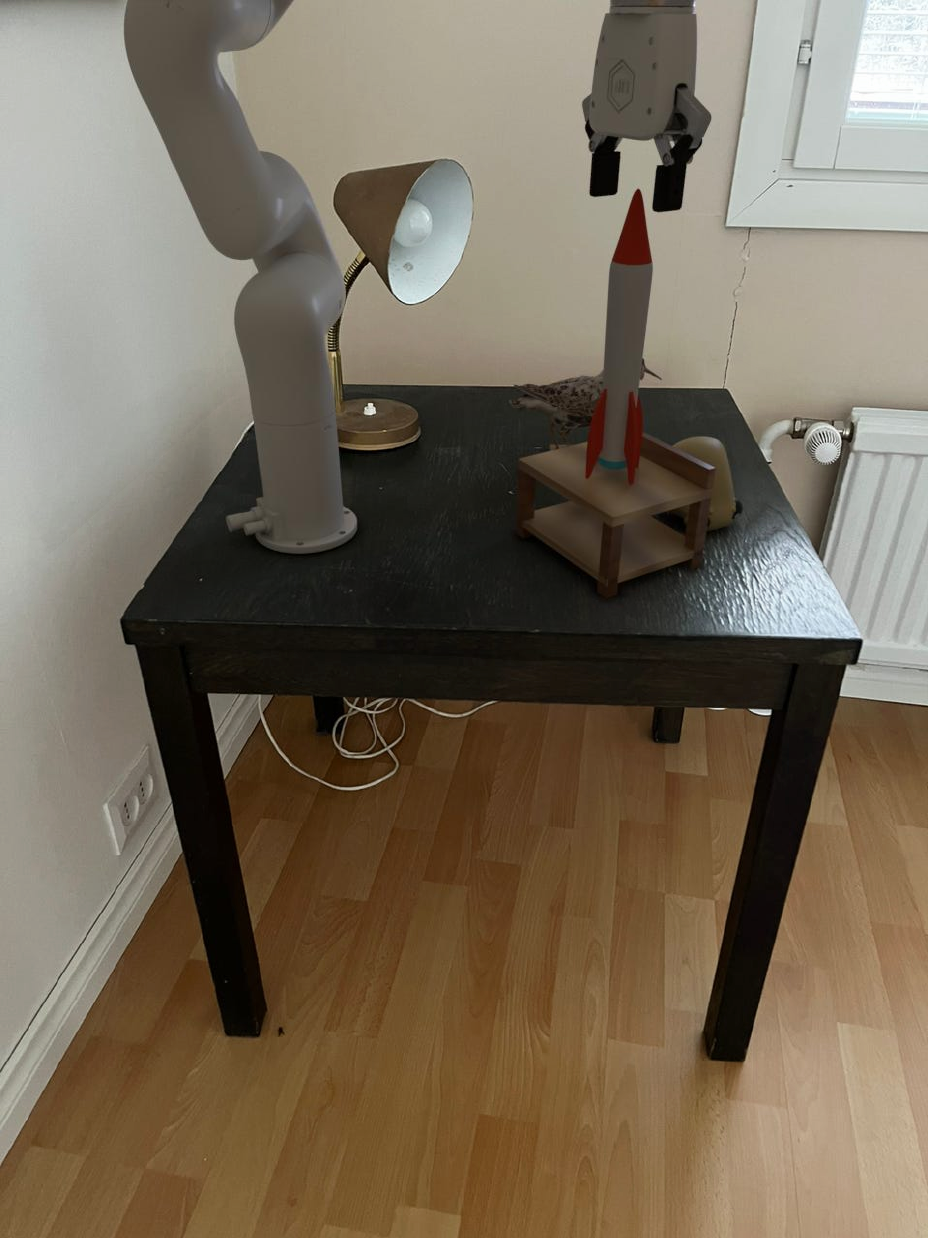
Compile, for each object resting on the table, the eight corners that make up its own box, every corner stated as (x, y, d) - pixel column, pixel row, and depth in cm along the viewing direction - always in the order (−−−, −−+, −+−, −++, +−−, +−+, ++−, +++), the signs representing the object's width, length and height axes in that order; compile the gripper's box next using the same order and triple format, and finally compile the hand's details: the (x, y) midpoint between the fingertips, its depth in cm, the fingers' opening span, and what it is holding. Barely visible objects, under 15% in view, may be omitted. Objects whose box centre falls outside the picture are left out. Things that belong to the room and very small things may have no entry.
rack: (605, 598, 105) (614, 496, 98) (515, 533, 118) (518, 439, 111) (701, 566, 111) (716, 467, 104) (605, 507, 124) (613, 416, 117)
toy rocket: (632, 485, 106) (665, 195, 90) (583, 479, 108) (606, 191, 91) (640, 466, 110) (672, 185, 94) (593, 460, 112) (616, 182, 96)
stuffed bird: (657, 466, 135) (671, 345, 126) (524, 483, 130) (528, 359, 121) (628, 441, 143) (639, 325, 134) (501, 455, 138) (504, 337, 129)
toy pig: (661, 549, 122) (703, 526, 112) (632, 462, 123) (671, 431, 113) (725, 533, 125) (771, 509, 115) (696, 448, 126) (740, 416, 116)
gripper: (561, -6, 89) (551, 193, 98) (687, -7, 76) (662, 221, 86) (624, -5, 92) (609, 187, 101) (755, -6, 80) (724, 213, 89)
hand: (633, 202), depth 93 cm, fingers open, 9 cm apart
